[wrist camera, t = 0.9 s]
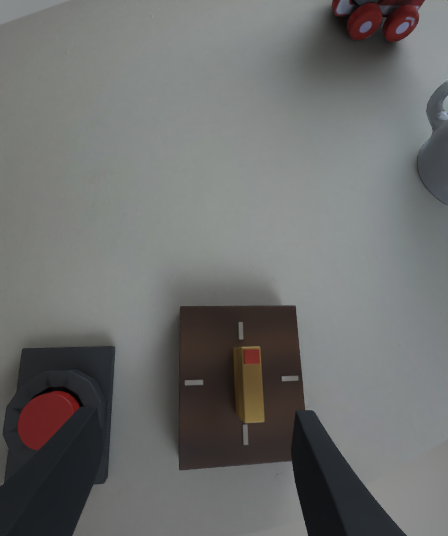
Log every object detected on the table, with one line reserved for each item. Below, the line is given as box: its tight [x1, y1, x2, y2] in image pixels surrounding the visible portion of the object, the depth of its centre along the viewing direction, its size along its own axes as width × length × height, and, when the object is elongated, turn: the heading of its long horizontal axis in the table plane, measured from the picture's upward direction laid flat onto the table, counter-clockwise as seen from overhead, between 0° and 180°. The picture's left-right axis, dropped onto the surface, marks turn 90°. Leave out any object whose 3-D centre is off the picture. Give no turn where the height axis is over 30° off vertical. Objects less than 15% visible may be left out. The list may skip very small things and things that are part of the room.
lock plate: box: [179, 305, 305, 470], centre depth 27 cm, size 12×10×3 cm
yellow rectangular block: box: [233, 346, 265, 423], centre depth 24 cm, size 5×1×4 cm, turn 2°
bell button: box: [18, 391, 80, 450], centre depth 23 cm, size 4×4×2 cm
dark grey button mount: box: [3, 346, 115, 484], centre depth 24 cm, size 10×7×3 cm
